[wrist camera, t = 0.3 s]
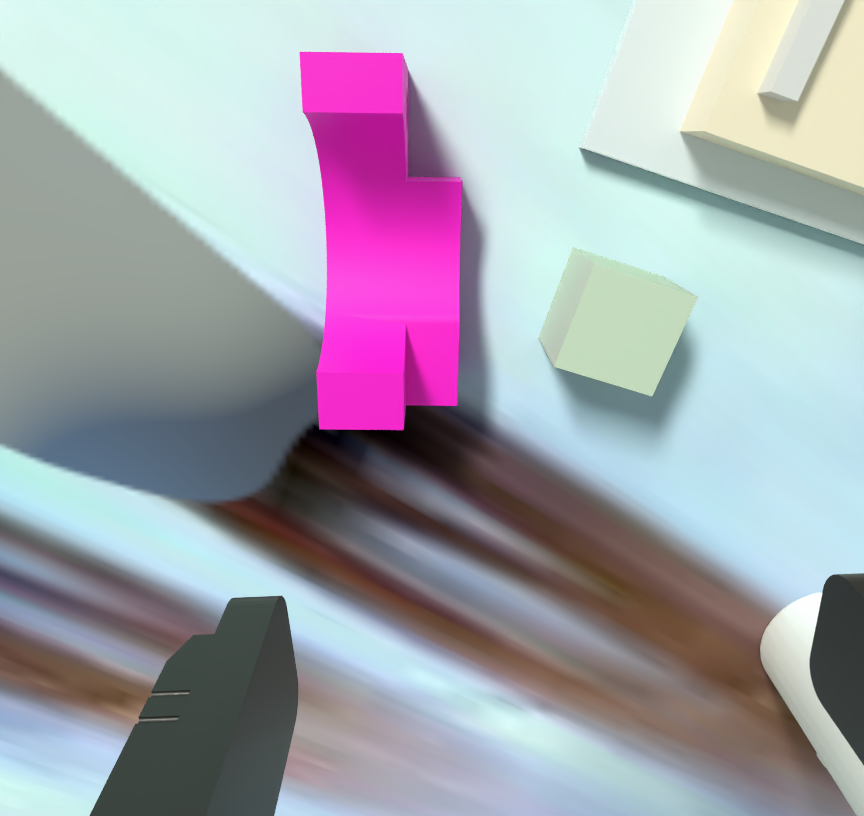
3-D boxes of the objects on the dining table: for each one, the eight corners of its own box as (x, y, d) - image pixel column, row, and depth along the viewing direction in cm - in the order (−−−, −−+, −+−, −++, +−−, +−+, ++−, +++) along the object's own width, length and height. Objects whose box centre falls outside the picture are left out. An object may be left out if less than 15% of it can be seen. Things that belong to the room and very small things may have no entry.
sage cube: (572, 246, 35) (594, 263, 30) (662, 276, 35) (697, 297, 31) (538, 337, 37) (554, 366, 32) (624, 364, 37) (652, 396, 33)
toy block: (454, 375, 38) (459, 430, 31) (340, 374, 38) (319, 429, 31) (461, 71, 32) (471, 54, 25) (328, 70, 32) (299, 51, 25)
